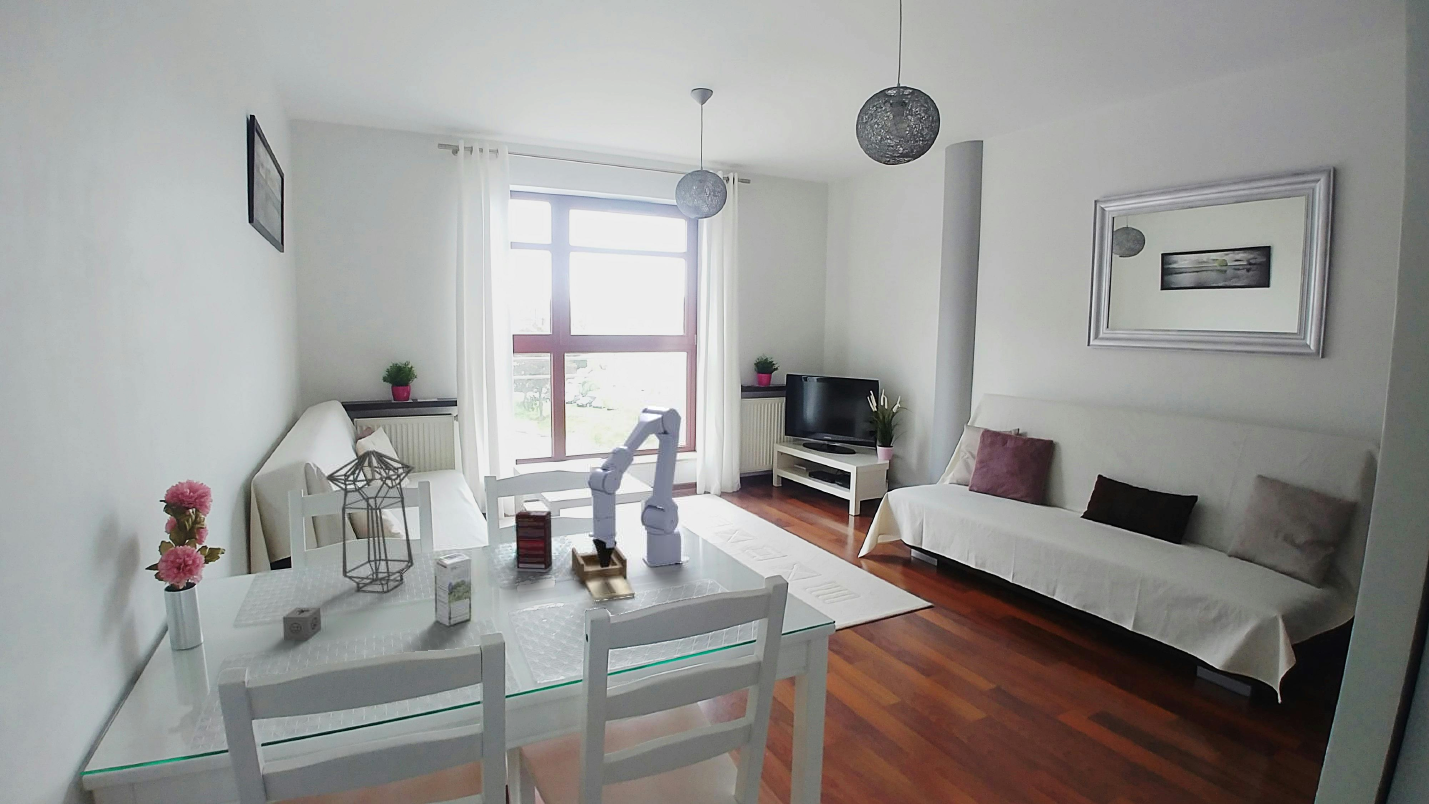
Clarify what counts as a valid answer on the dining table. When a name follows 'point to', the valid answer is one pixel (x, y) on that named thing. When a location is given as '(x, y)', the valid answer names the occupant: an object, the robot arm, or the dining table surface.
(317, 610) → the dice cube
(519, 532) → the supplement box
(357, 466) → the geometric lantern
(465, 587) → the syrup box
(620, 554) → the box
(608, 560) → the robot arm
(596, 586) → the lid
